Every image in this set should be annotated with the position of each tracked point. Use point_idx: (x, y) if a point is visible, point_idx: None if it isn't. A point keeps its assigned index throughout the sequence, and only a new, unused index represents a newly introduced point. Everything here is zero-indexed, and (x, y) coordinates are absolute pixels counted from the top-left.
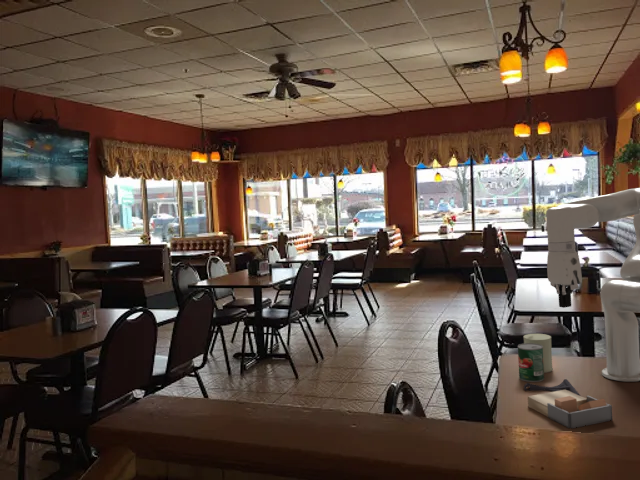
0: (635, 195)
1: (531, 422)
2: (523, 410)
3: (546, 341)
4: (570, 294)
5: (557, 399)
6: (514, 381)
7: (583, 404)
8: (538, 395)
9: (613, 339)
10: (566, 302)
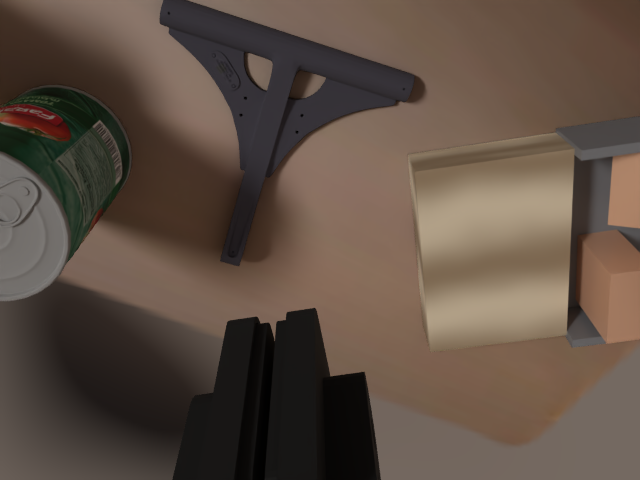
0: None
1: (560, 376)
2: (451, 354)
3: None
4: (321, 474)
5: (617, 336)
6: (102, 244)
7: None
8: (438, 312)
9: None
10: (377, 457)
